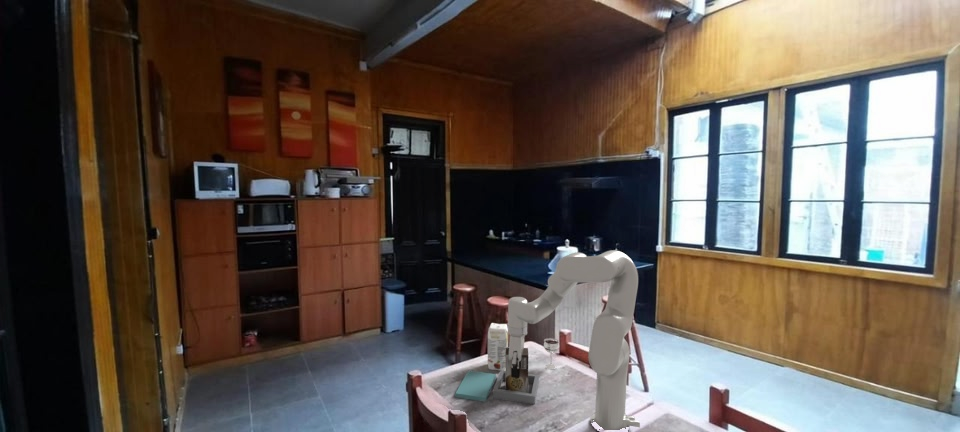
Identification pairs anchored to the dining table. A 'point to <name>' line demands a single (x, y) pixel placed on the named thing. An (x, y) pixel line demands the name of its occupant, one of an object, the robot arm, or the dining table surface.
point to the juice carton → (497, 346)
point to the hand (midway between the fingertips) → (516, 372)
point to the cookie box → (522, 381)
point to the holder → (512, 394)
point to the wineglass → (551, 349)
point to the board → (476, 386)
